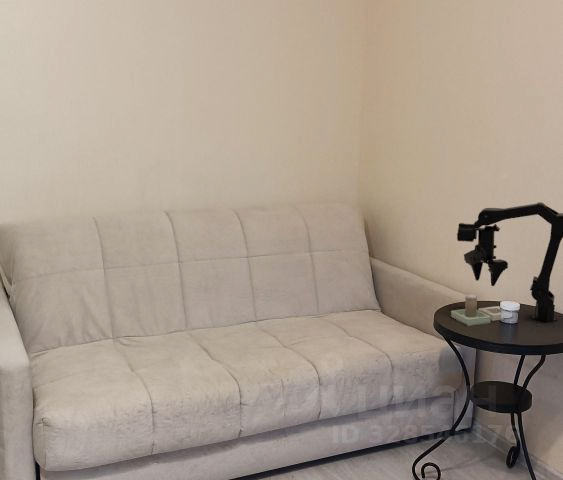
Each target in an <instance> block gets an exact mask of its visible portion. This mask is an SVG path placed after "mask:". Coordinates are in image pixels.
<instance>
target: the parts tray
mask: <svg viewBox="0 0 563 480" xmlns="http://www.w3.org/2000/svg"><path fill="white" fill-rule="evenodd" d="M450 311H451V312H450V317H452V318H451V319H453V318H454V320H455V319H456V321H457V322H459V323H461V324H463V325H465V326H467V327H473V326H478V325H488V324H491V320H490V319H491V317H490V316H488V315H486V314H484V313H482V312H480V311H478V309H476V318H472V319H468V318H466V317H465V308H463V309H455V310H450Z"/></svg>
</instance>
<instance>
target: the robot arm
mask: <svg viewBox="0 0 563 480" xmlns="http://www.w3.org/2000/svg"><path fill="white" fill-rule="evenodd" d="M537 215H538V216H539V217H541V218H542V219H543V220H545V221H546V222H547V223H548V224H550V236H549V237H550V238H549V241H548V245H547V248H546V252H545V255H544V259H543V262H542V266H541V269H540V273H539V274H538V275H537V276H535V275H534V276H533V278H532V284H531V285H530V288H529V291H531V297H532V299H534V300H535V301H536V302H535V308H534V309H535V310H534V315H533V316H531V319H532V320H536V321H538V322H540V323H542V324H543V323H551V322H552V323H553V322H557V321H558V319H557V318H555V308H556V305H555V304H554V302H555V295H554V294H553V293H552V291H550V282H551V275H552V272H553V269H554V268H553V267H554V265H555V261H556V258H557V255H558V251H559V249H560V245H561V242H562V239H563V213H561V212H558V211H556V210H555V209H552V208H551V207H550V206H547V205H546V204H545V203H544V202H536V203H530V204H526V205H525V204H524V205H520V206H519V205H518V206H513V207H512V206H511V207H506V208H499V207H486V208H483V209H482V210H481V211H480V212H479V213H478V215H477V220H475V221H474V222H473V223H464V222H460V223H458V228H457V232H456V240H457V242H470V243H472V242H474V241H475V240H478V241H477V244H475V246H474V249H472V250H470V251H468V252H466V253H464V254H463V257H464V261H465V263H466V264H468V265H469V266H470V267H471V269H472V272H473V275H474V278H475V281H479V280H480V278H481V274H482V268H483V265H484V264H485V265H487V266H488V268H487V271H488V272H489V273H490V286H491V287H495V286H496V283H497V282H498V279H500V276H501V275H502V274H503V272H504V271H506V270H507V269H508V268H509V262H508V261H507V260H504V259H501V258H500V259H497V256H496V255H495V249H497V244H495V232H500V230H501V228H500V227H499V226H498V225H497V223H500V222H502V221H505V220H508V219H509V220H511V219H516V218H517V219H518V218H525V217H529V216H537ZM483 226H484V227H483Z"/></svg>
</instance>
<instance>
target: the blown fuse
mask: <svg viewBox="0 0 563 480" xmlns="http://www.w3.org/2000/svg"><path fill="white" fill-rule="evenodd" d="M477 302H478V294H476V293H466V294H465V303H464V309H465V317H466V318H468V319H472V318H476V310H478V309H477V304H478V303H477Z"/></svg>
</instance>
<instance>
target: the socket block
mask: <svg viewBox="0 0 563 480" xmlns="http://www.w3.org/2000/svg"><path fill="white" fill-rule="evenodd" d="M500 307H501V306H499V305H497V306H489V307H488V306H487V307H479V308H478V309H477V310H478V311H480V312H482V313H484V314H486V315H488V316H490V317H491V319H490V321H493V322H494V321H501V320H502V319H501V309H500Z"/></svg>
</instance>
